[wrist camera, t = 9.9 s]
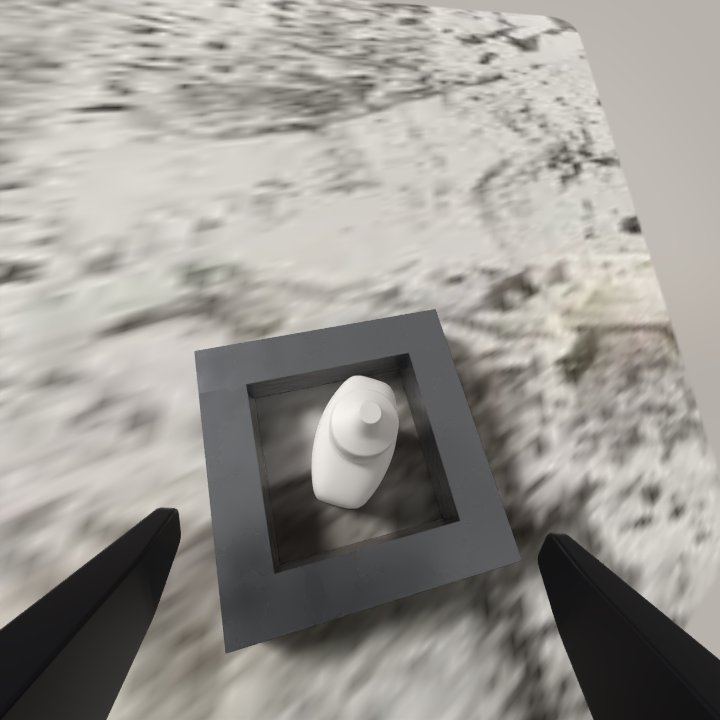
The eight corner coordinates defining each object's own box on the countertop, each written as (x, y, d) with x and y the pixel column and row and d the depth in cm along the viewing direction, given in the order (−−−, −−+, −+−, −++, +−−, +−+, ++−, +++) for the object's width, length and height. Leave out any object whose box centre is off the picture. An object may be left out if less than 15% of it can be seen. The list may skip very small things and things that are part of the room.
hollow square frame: (495, 553, 22) (521, 560, 19) (239, 631, 19) (225, 653, 16) (423, 329, 26) (435, 309, 24) (208, 368, 24) (194, 351, 21)
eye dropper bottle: (402, 449, 23) (478, 401, 12) (336, 520, 22) (356, 538, 10) (352, 400, 24) (381, 311, 13) (285, 464, 22) (252, 424, 11)
